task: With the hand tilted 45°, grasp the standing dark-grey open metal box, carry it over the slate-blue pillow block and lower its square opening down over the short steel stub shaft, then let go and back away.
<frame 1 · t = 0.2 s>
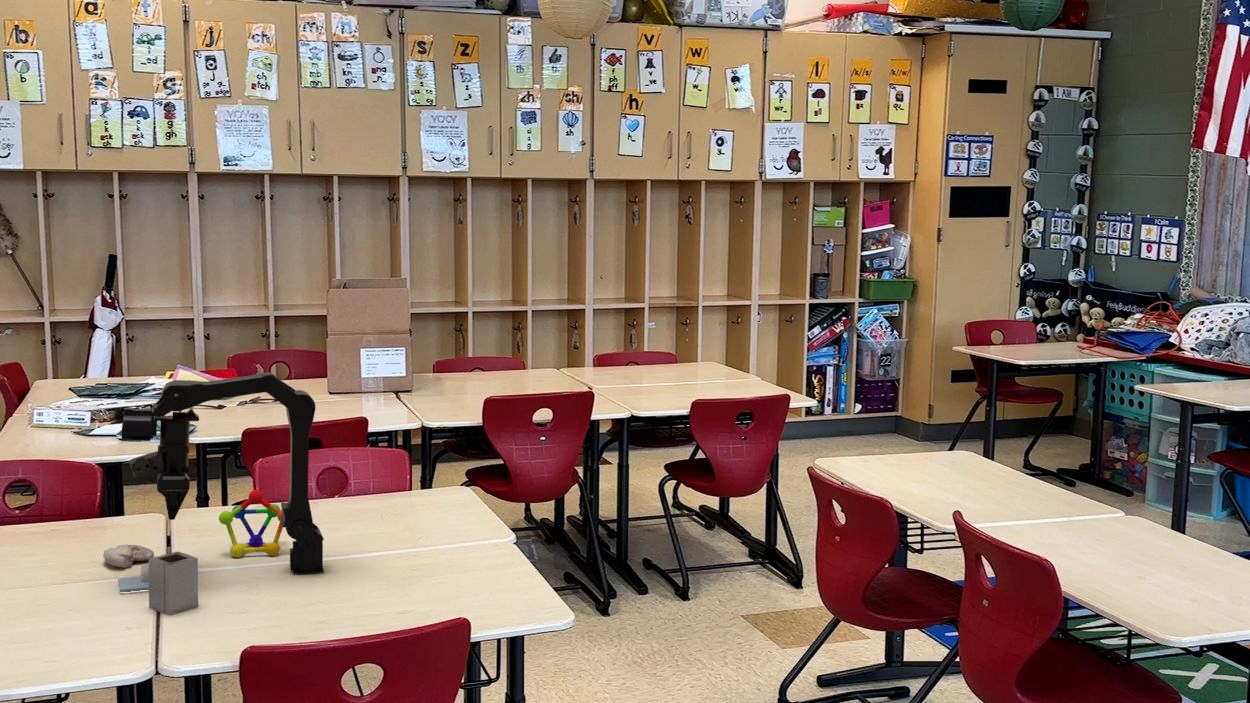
hand: (171, 514, 246), 14 cm above the table, tool pointing down, fingers open, 9 cm apart
open metal box: (173, 607, 231), on the table
fossil: (126, 564, 259), on the table
educational toy: (253, 552, 270), on the table
shaft stand: (145, 585, 243), on the table
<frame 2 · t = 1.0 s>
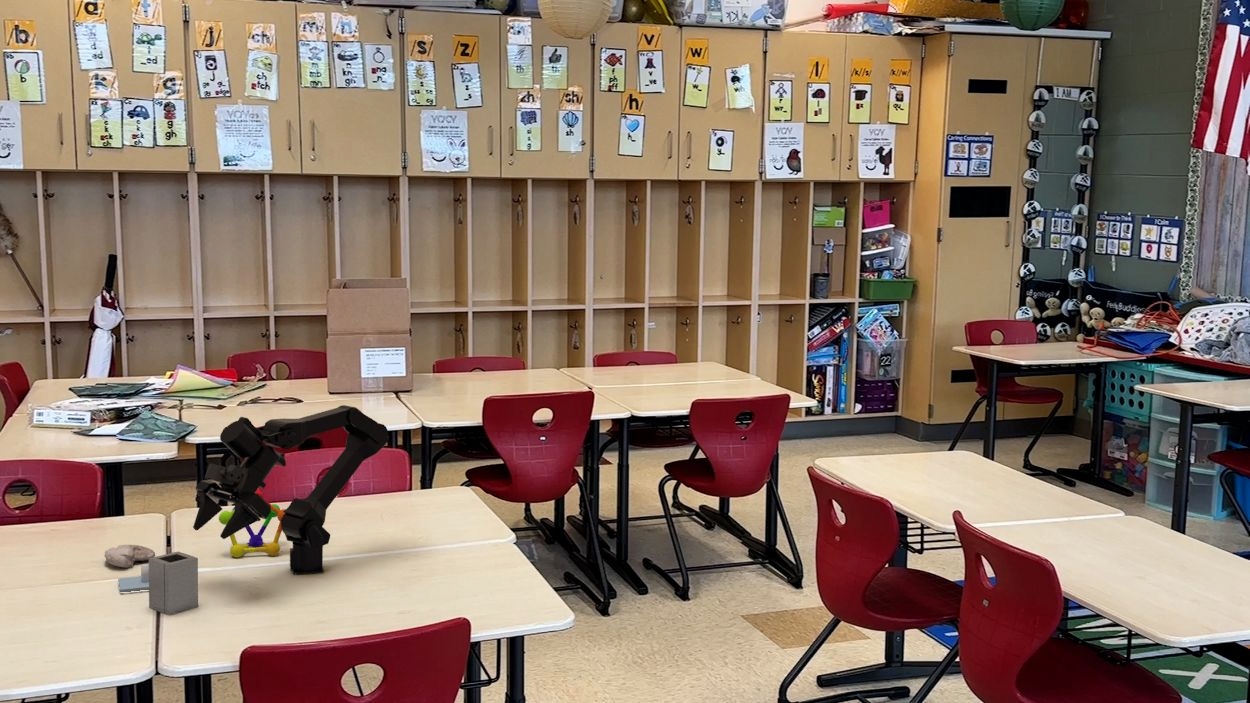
hand: (208, 533, 236), 13 cm above the table, tool tilted 45°, fingers open, 9 cm apart
nothing on the table moved.
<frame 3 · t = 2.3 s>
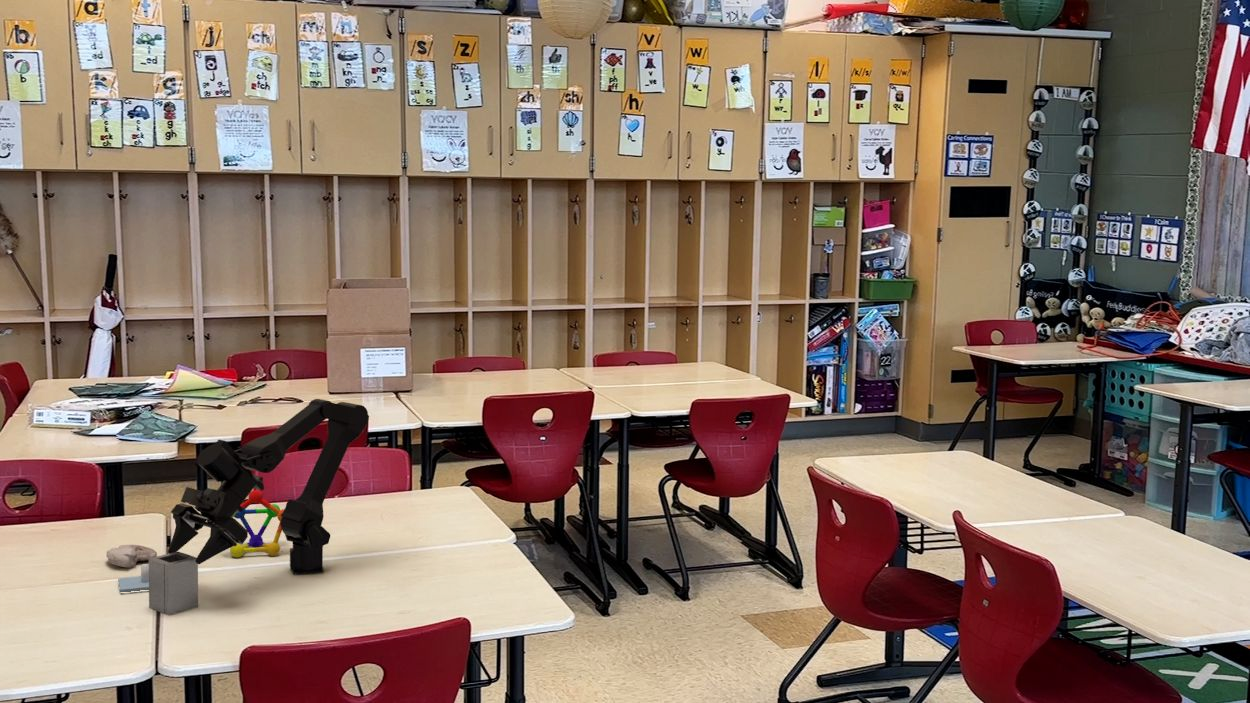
hand: (183, 558, 232), 9 cm above the table, tool tilted 45°, fingers open, 9 cm apart
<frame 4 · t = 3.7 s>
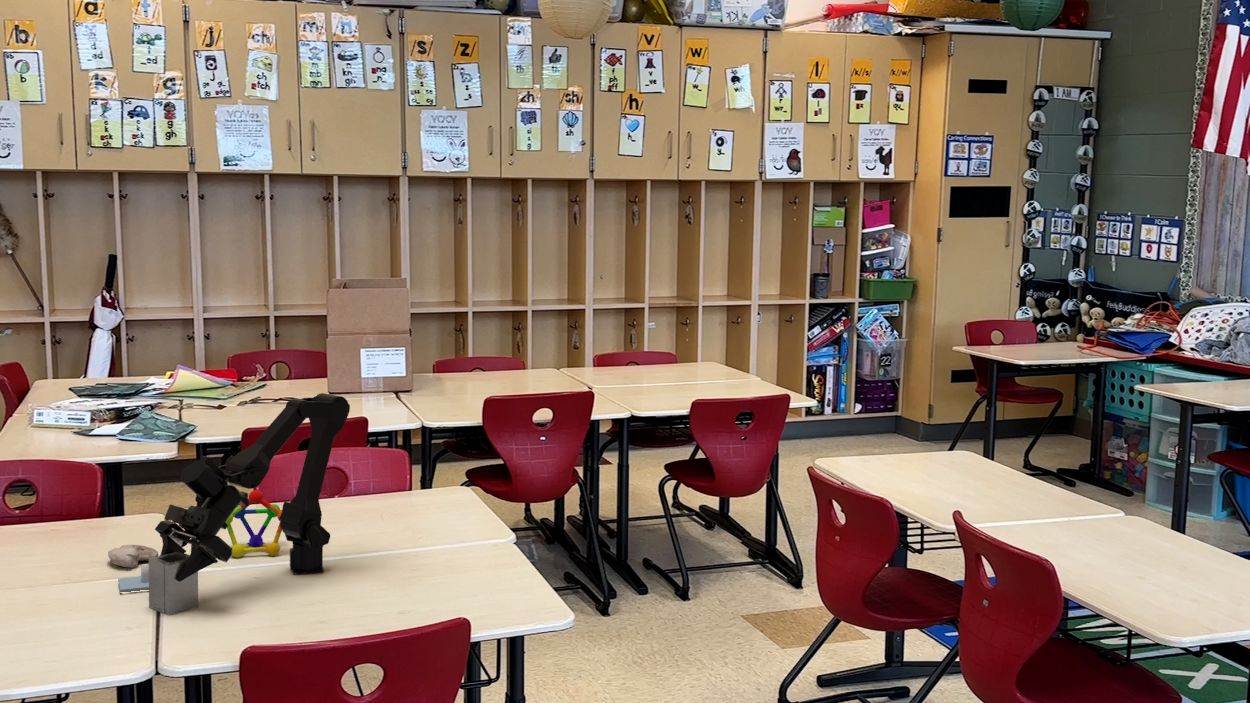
hand: (167, 576, 229), 7 cm above the table, tool tilted 45°, fingers closed on open metal box, 7 cm apart
open metal box: (173, 607, 231), on the table, touching gripper
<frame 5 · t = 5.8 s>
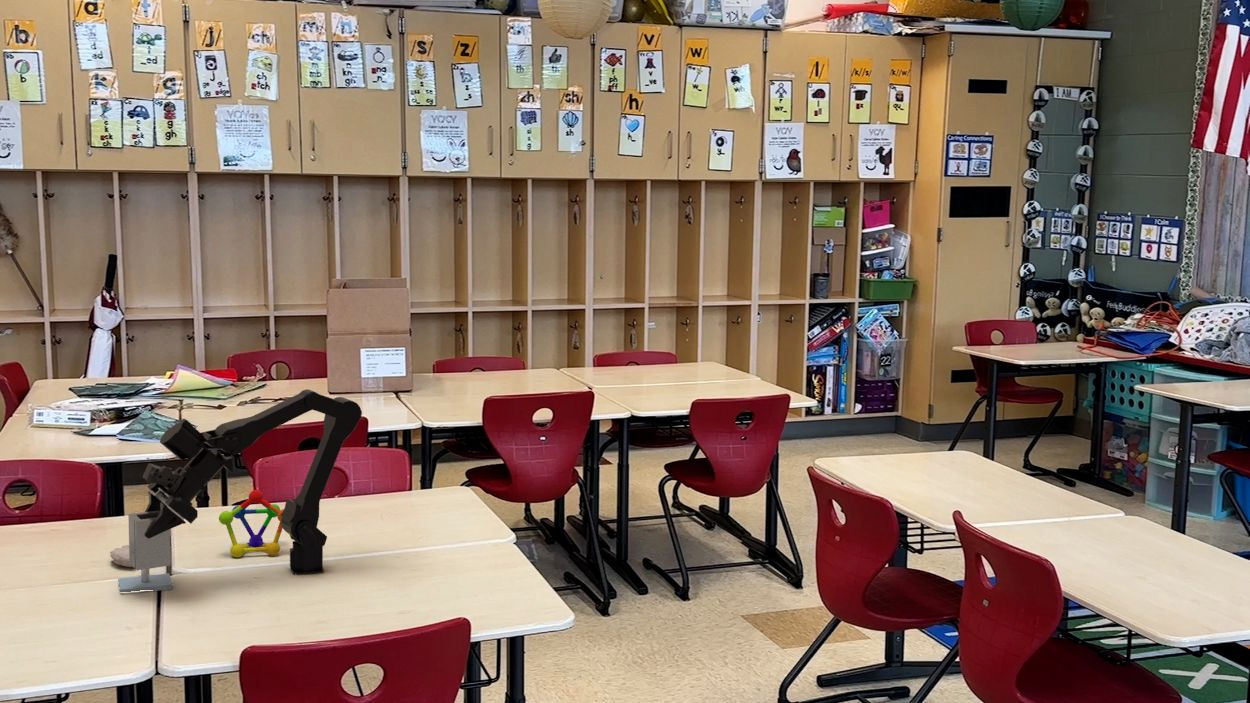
hand: (142, 533, 237), 13 cm above the table, tool tilted 45°, fingers closed on open metal box, 7 cm apart
open metal box: (150, 563, 239), point 6 cm above the table, touching gripper
when the fingers open (8 cm above the table, at t = 7.8 s): open metal box stays where it is, resting on shaft stand.
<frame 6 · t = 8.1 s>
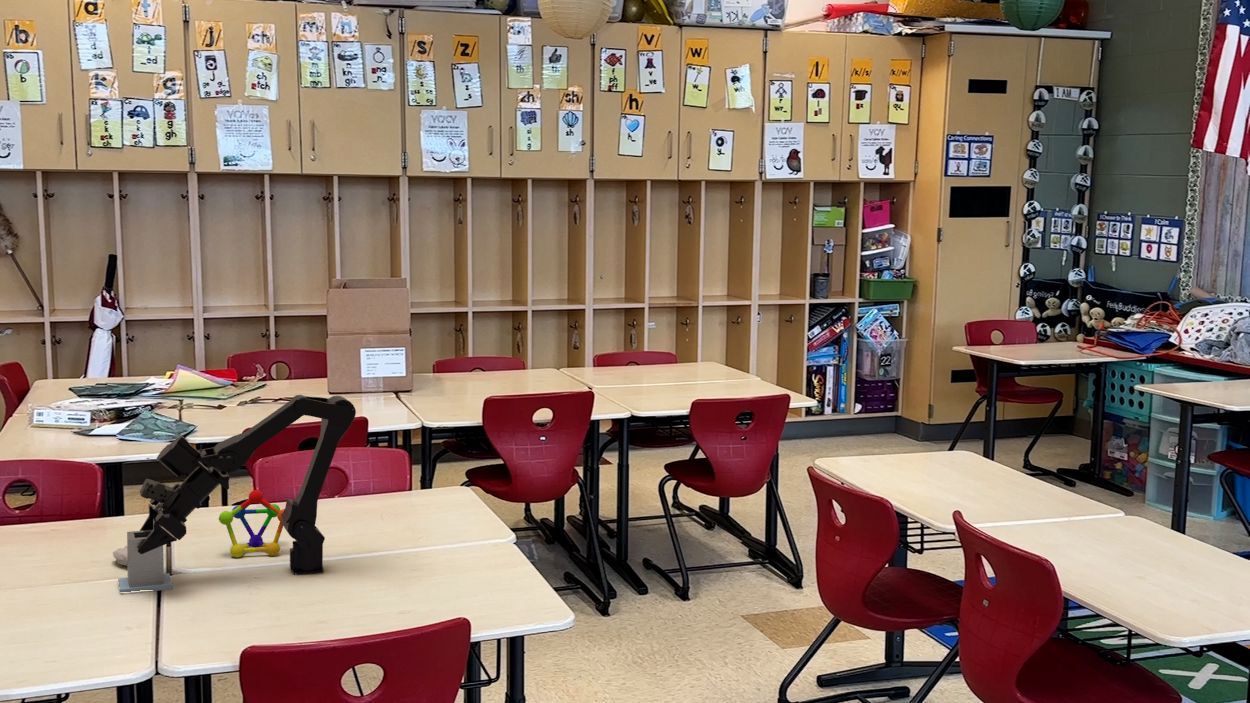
hand: (137, 546, 242), 9 cm above the table, tool tilted 45°, fingers open, 9 cm apart
open metal box: (145, 581, 243), point 1 cm above the table, touching shaft stand
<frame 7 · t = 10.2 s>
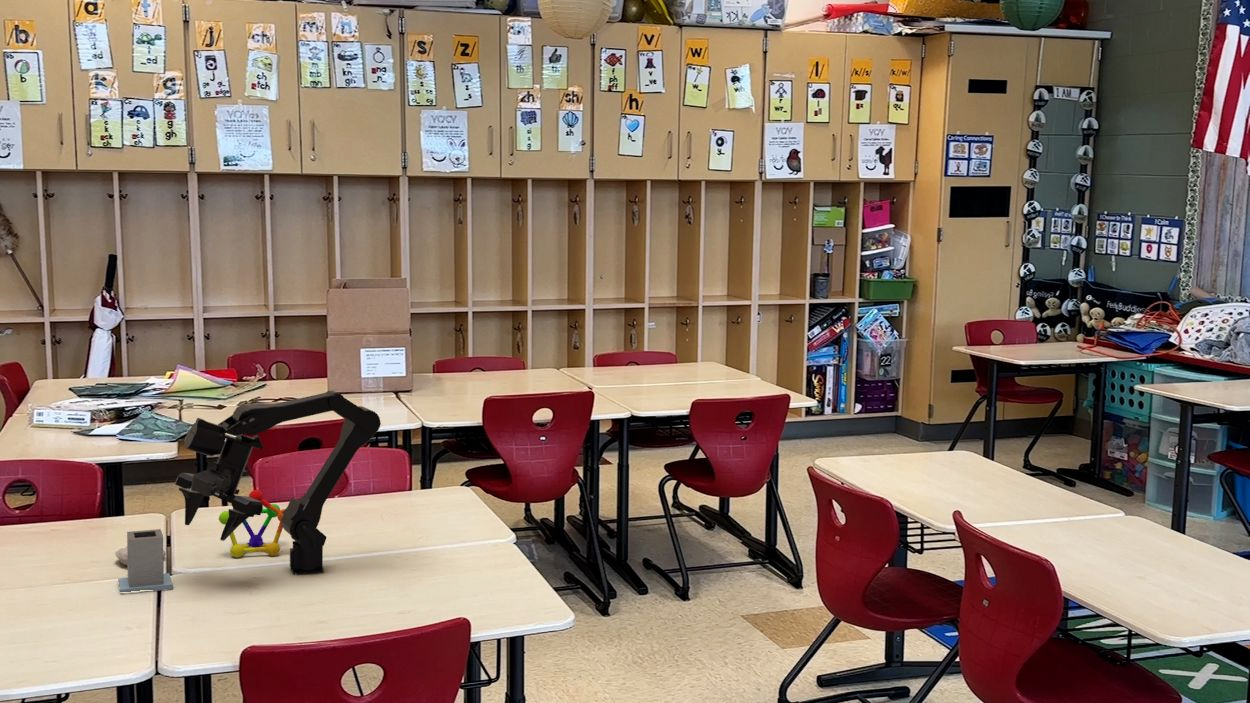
hand: (204, 532, 245), 11 cm above the table, tool tilted 20°, fingers open, 9 cm apart
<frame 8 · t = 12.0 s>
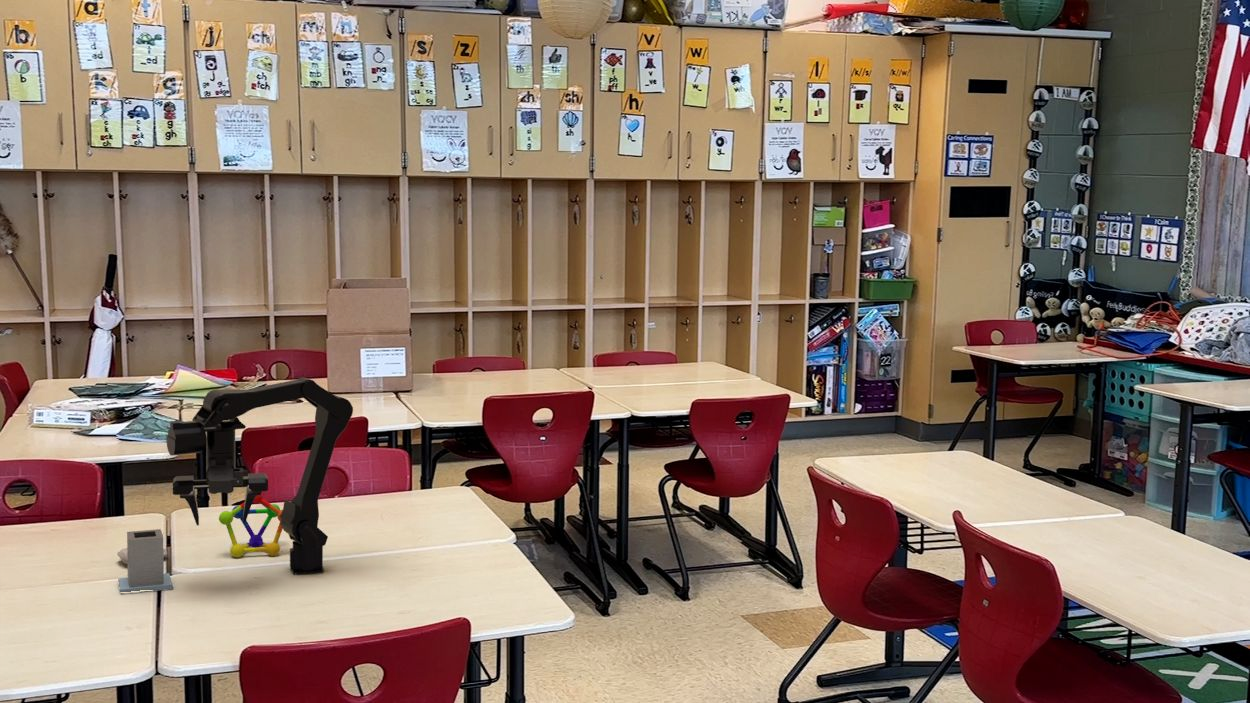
hand: (221, 523, 245), 13 cm above the table, tool pointing down, fingers open, 9 cm apart
at the end: open metal box 0.0 cm off-centre on the shaft stand, point 1.0 cm above the shaft stand's base; open metal box tilted 0°; the gripper is holding nothing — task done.
